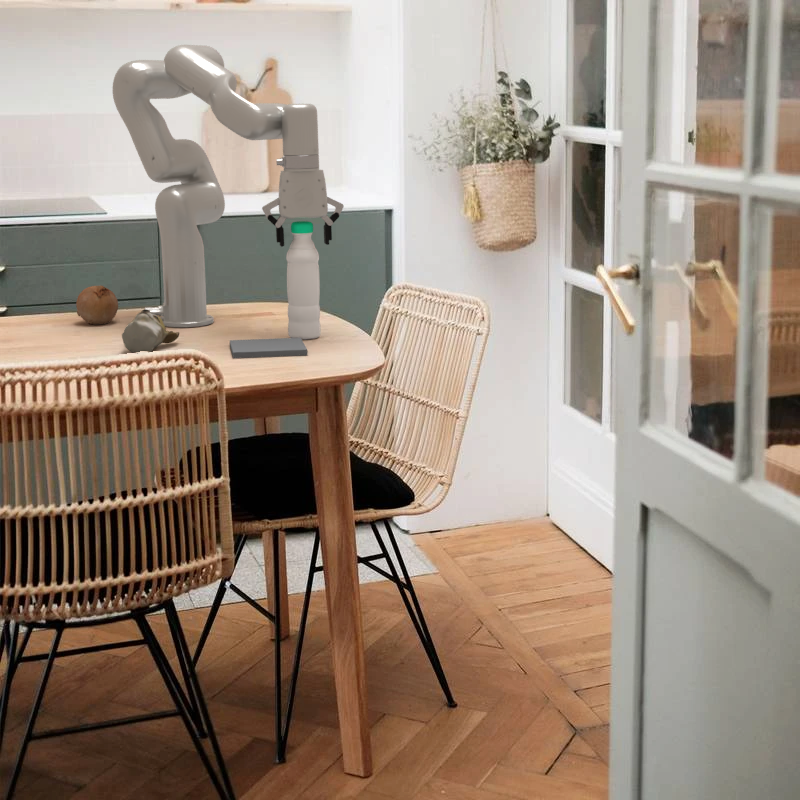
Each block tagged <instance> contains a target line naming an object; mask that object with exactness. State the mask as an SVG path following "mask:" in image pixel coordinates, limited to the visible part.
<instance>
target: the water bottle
mask: <svg viewBox="0 0 800 800" xmlns="http://www.w3.org/2000/svg"><path fill="white" fill-rule="evenodd" d="M290 231H291V235H292V241H291V243H290V245H289V247H288V250H287V252H286V256H285V258H286V259H285V260H286V262H287V264H286V265H287V266H286V292H287V293H286V294H287V302H288V304H287V305H288V306H287V318H288V323H287V325H288V326H287V334H288V338H301V339H302V341H303V340H304V341H305V340H307V341H308V340H315V339H317V338H319V337H320V336H321V322H320V318H321V307H320V296H321V295H320V289H321V286H320V267H319V260H320V254H319V252H318V249H317V248H316V246H315V244H316V243H315V242H314V241H313V239H312V235H313V233H314V223H313V222H311V221H307V220H306V221H303V220H300V221H293V222H292V223H291V224H290Z"/></svg>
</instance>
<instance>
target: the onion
mask: <svg viewBox="0 0 800 800" xmlns="http://www.w3.org/2000/svg"><path fill="white" fill-rule="evenodd" d="M118 301H119V300H118V298H117V296H116V295H115V293H114V292H113V291H112V290H110V289H109V288H107V287H105V286H104V285H101V284H100V285H91V286H88V287H86V288H84V289H83V290H82V291H81V292H79V294H78V296H77V299H76V303H75V305H76V310H77V311H76V314H77V316H78V317H79V318H81V319H82V320H84V321H85V322H86V323H88V325H105V324H108V323H109V322H110V323H111V322H112V321H113V319H114V318H115V316H117V313H118V309H119V302H118Z"/></svg>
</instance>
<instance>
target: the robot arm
mask: <svg viewBox="0 0 800 800" xmlns="http://www.w3.org/2000/svg"><path fill="white" fill-rule="evenodd" d="M224 62H225V61H224V59H223V56H222V55H221V53H220V52H219V51H218V50H217V49H215V48H214V47H213V46H210V45H201V44H200V45H198V44H180V45H179V44H178V45H176V46H173V47H172V48H170V49H169V50H168V51H167V53H166V54H165V56H164V58H163V59H162V60H156V59H139V60H138V59H137V60H131V61H129V62H126V63H124V64H122V65H121V66H120V67H119V68H118V69H117V71H116V73H115V75H114V77H113V82H112V98H113V101H114V104H115V108H116V110H117V111H118V114H119V116H120V118H121V120H122V121H123V123H124V124H125V127H126V129H127V131H128V133H129V135H130V137H131V140H132V143H133V145H134V148H135V151H137V154H138V157H139V159H140V161H141V165H142V166H143V168H144V171H145V172H146V174H147V177H148V178H149V179H150V180H151V181H153V182H155V183H158V184H159V183H160V184H161V183H162V184H164V183H165V184H166V183H178V182H180V184H179V183H178V184H173V185H169V186H167V187H165V188H164V189H162V190H161V191H160V192H159V194H157V196H156V199H155V203H154V209H155V215H156V220H157V223H158V228H159V234H160V244H161V260H162V278H163V280H162V281H163V282H162V283H163V299H164V300H163V302H162V304H161V305H158V306H145V307H144V310H145V309H147V310H148V311H149V312H150V313H151V314H153V315H157V316H159V317H160V318H161V319H162V321H163V323H164V326H165V327H168V328H196V327H203V326H208V325H211V324H213V323H214V321H215V320H214V319H215V318H214V316H213V315H210V314H208V312H207V310H208V309H207V287H206V264H205V262H206V260H205V247H204V242H203V238H202V237H203V236H202V235H201V233H200V231H199V229H198V226H199V225H207V224H212V223H215V222H217V221H219V219H220V218H222V216H223V214H224V212H225V207H226V202H225V196H224V193H223V190H222V188H221V186H220V185H221V184H220V182H219V180H218V178H217V176H216V173H215V171H214V169H213V166H212V164H211V162H210V160H209V157H208V155H207V153H206V152H205V150H204V149H203V148H202V146H200V145H199V144H198V143H197V142H196V141H194V140H192V139H187V138H179V139H176V138H175V137H173V135H172V133H171V132H170V130H169V128H168V124H167V122H166V120H165V118H164V117H163V115H162V113H160V111H159V110H158V109H157V108H156V107H155V106H154V105H153V104H152V102H151V101H150V100H157V99H158V100H159V99H160V100H162V99H163V100H164V99H165V100H166V99H177V98H180V97H181V98H182V97H183V96H186V95H189V94H192V95H194V96H196V98H199V99H200V100H201V101H203V102H205V103H206V104H207V105H208V106H210V109H211V112H212V113H213V115H214V116H215V118H216V120H217V121H218V122H219V123H221V125H222V126H224V127H226V128H227V129H229V130H230V131H231V132H233V133H234V134H236V135H238V136H239V137H241V138H244V139H246V140H249V141H262V140H264V141H265V140H270V141H271V140H281V139H282V152H283V153H282V154H283V155H282V157H280V158H276V166H281V167H282V168H283V170H280V173H279V174H280V175H279V182H278V183H279V185H278V197H276V198H275V199H273V200H272V201H270V202H268V203H267V204H265V205H263V206H262V208H261V210H262V211H263V213H264V215H265V217H266V219H267V220H268V221H269V222H270V223H271V224H272V225H273V226H275V235H276V243H279V246H280V247H281V248H282V247H285V235H284V234H285V231H284V230H285V229H284V227H283V224H284V223H285V222H286V220H287V219H288V220H291V219H294V220H297V219H313V218H314V219H317V218H318V219H319V218H321V219H322V220H323V221H324V225H323V242H324V244H325V245H326V246H328V245H330V241H332V239H333V236H332V225H334V223H335V222H336V221H337V220H338V219H339V217H340V215H341V213H342V211H343V209H344V204H343V203H341V202H339V201H337V200H335V199H333V198H331V197H328V195H327V194H328V193H327V184H326V178H325V172H324V170H323V169H320V158H319V157H320V156H319V154H320V152H319V124H318V122H319V121H318V110H317V106H315V105H314V104H311V103H289V104H286V103H279V102H276V103H275V102H273V103H272V102H271V103H270V102H264V103H261V102H260V103H253V102H250V100H248V99H246V98H244V97H243V96H242V95H240V94H238V92H236V90H237V87H238V80H237V77H236V75H235V74H234V73H233V72H232V71H230V70H229V69H227V68H225V63H224ZM328 204H329V205H331V206H332V207H334V208H335V209H334V212H332V214H331V215H330V216H328V212H329V211H328V208H329V205H328ZM277 206H278V213H279V216H278V217H277V218H275V216H273V214H272V212H271V210H272V209H274V208H275V207H277Z"/></svg>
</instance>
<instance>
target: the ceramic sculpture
mask: <svg viewBox="0 0 800 800" xmlns="http://www.w3.org/2000/svg"><path fill="white" fill-rule="evenodd" d="M160 317H161V316H159V315H153V314H151V313H150V312H149V311H148V310H147V309H145V308H144V309H143V310H141V311H140V312H138V313H137V314H136V315H135V317H134V319H133V320H132V322H129V323H128V324H127V326H125V328H124V330H123V332H122V333H121V338H122V342H123V344H124V346H125V348H126V349H127V351H129V352H131V353H134V352H140V351H150V352H152V351H153V350H154V349H155V348H157V347H159V346H161V345H162V344H165V345H167V344H171V343H173V342H175V341H176V340H177V339H178V338H179V335H180V332H179V331H176V332H175V331H172V330H167V329H166V326H164V323H163V321H162V319H161V318H160Z"/></svg>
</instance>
